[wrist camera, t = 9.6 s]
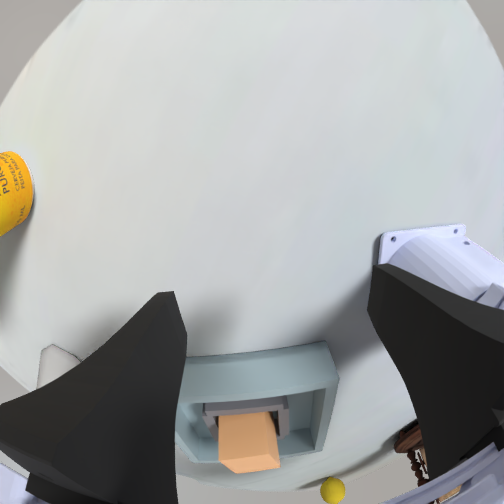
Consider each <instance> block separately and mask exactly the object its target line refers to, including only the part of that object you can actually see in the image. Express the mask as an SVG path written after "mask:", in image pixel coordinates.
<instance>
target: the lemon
mask: <svg viewBox="0 0 504 504" xmlns="http://www.w3.org/2000/svg"><path fill="white" fill-rule="evenodd" d="M320 493H321V496H322V498H323V500H324V501H325V502H327V503H330V504H338V502H339V501H341V500H342V499H343V498H344V496H345V486H344V484H343V482H342V481H341V480H339V479H336V478H332V477H328V479H327V480H326V481H325V482H324V483H323V484H322V486H321V489H320Z"/></svg>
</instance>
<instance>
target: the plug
mask: <svg viewBox="0 0 504 504" xmlns="http://www.w3.org/2000/svg"><path fill="white" fill-rule="evenodd" d="M219 461H220V462H221V463H222V464H224V465H225V466H226V467H228V468H229V469H230V470H232V471H233V472H235V473H236V474H238V473H246V472H254V471H261V470H268V469H274V468H279V467H280V460H279V452H278V445H277V438H276V431H275V424H274V416H273V412H272V411H268V412H260V413H250V414H239V415H224V416H219Z"/></svg>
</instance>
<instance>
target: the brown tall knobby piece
mask: <svg viewBox="0 0 504 504" xmlns="http://www.w3.org/2000/svg"><path fill="white" fill-rule="evenodd" d="M420 448H421V449H420ZM394 449H395V452H396V453H408V454H407V457H408V458H409V459H410V460H411V464H412V466H411V469H412V470H413V471H416V472H415V476H416V477H417V478H418V479H419V480H418V487H420V486H422V485H424V484H426V483H428V482H430V479H424V477H423V473H422V470H420V467H421V465H422V467H423V469H424V472H425V474H427V471H426V469H425V466H424V464H425V465H426V466H427V463H426V456H425V450H424V444H423V439H422V435H421V431H420V427H419V424H418V425H417V426H415V427H414V428H412V429H411V430H410V431H408V432H407V433H406V434H405V432H404V431H400V439H399V440H398V441H397V442H396V443H395V445H394ZM418 449H419V450H420V452H421V456H422V458H423V461H422V459H421V456H420V454H419V452H418V457H419V460H420V463H421V464H420V463H419V462H417V460H418V459H415V450H418ZM461 486H462V484H461V485H459V486H458V487H456V488H455V489H453V490H451V491H450V492H448V493H446V494H444V495H443V496H441V497H439V498H437V499H436V502H437V504H440V503H439V501H440V502H441V501H443V500H445V499H447V498H448V497H450V496H452V495H454V494H455V493H457V492H459V491H460V487H461ZM434 501H435V500H434ZM434 501H432V502H430V503H428V504H434Z"/></svg>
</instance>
